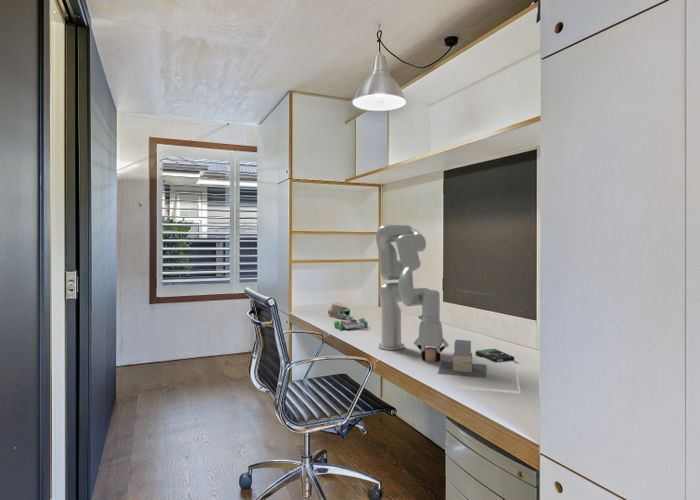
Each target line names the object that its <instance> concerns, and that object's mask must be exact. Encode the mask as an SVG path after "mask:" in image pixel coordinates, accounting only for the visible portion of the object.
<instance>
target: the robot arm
mask: <svg viewBox="0 0 700 500" xmlns="http://www.w3.org/2000/svg"><path fill="white" fill-rule="evenodd" d="M375 241H376V245H377V249H378V252H379V265H380V275H381V278H382V279H383V280H386V281H397V282H389V283H384V284H382V285H381V286H380V288H379V292H378V295H379V298H380V299H379V300H380V306H381V307H380V308H381V342H380V343H379V344H378V348H380V349H382V350H385V351H398V350H403V349H404V348H405V343H402V310H401V307H400V306H399V304H398V303H401V302H402V304H403V305H405V306H407V307H414V306H421V315H418V319H419V320H421V321H420V322H419V327H418V337H417V338H416V339H415V340H414V342H413V344H414V345H415V346H416V347H417V348H418V350H420V352H421V359H422V361H424V362H426V361H425V347H435V348H437V353H436V362H437V363H439V361H441V353H442V351H444V349H446V348H448V347H449V342H447V341H446V339H445V338H444V335H443V332H444V331H443V326H442V325H443V324H442V322H441V319H440V316H441V313H440V312H441V311H440V310H441V308H440V305H441V303H440V300H441V297H440V296H441V295H440V292H439V291H438V290H434V289H430V288H425V287H418V288H417V287H415V288H414V278H413V277H414V275H413V272H415V271H417V270H418V269H420V267H421V266H422V265H421V264H422V263H421V261H420V255H419V253H420V252H423V251H425V249H426V247H427V241H426V238H425V236H424V235H422V233H420V231H418V230H417V229H415V228H414V227H412V226H410V225H407V224H385V225H382V226H380V227H379V228H378V230H377V232H376V236H375ZM393 243H396V247H397V250H396V248H395V246H394V245H393ZM398 255H399V260H398ZM436 362H435V363H436Z"/></svg>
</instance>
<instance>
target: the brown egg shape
mask: <svg viewBox="0 0 700 500" xmlns="http://www.w3.org/2000/svg"><path fill="white" fill-rule="evenodd" d="M436 353H437V348H436V347H433V346H425V361H424V362H428V363H436Z"/></svg>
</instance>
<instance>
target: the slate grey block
mask: <svg viewBox="0 0 700 500" xmlns="http://www.w3.org/2000/svg"><path fill="white" fill-rule="evenodd" d="M453 345H454V353H453V355H454V356H467V357H470V355H471V353H472V341H471V340H465V339H464V340H463V339H455V341H454V344H453Z"/></svg>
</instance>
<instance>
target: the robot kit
mask: <svg viewBox="0 0 700 500" xmlns="http://www.w3.org/2000/svg"><path fill="white" fill-rule="evenodd" d="M341 316H342V317H345V318H344V319H345V320H344V319H343V320H340V321H338V320H335V321H334V323H333V326H334V328H335V329H338V330H339V331H341V330H342V331H343V330H344V329H346V330H348V329H357V328H358V329H359V328H365V329H366V328H368V324H369V323H368V321H367V320H366V319H365V317H362V318H358V319H357V318H355V319H354V316H351V309H350V310H344V315H342V314H339V317H341Z"/></svg>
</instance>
